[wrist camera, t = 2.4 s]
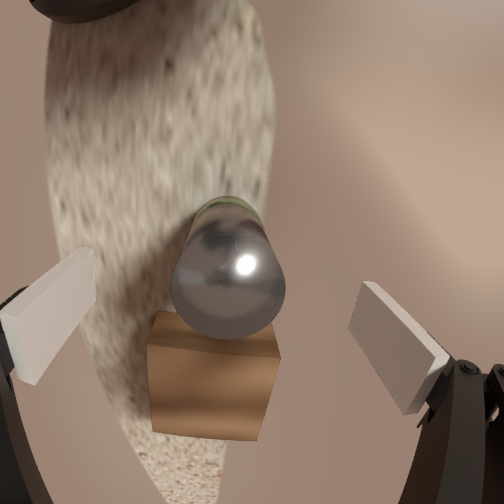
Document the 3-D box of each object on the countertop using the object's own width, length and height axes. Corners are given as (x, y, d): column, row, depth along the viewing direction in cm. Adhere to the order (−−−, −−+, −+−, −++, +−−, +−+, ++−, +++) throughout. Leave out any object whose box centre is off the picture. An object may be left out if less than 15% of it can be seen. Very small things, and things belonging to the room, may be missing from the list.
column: (197, 190, 22) (172, 226, 12) (265, 199, 23) (298, 242, 13) (190, 255, 24) (166, 334, 14) (254, 263, 25) (275, 345, 14)
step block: (158, 310, 25) (146, 344, 21) (271, 323, 27) (280, 358, 22) (160, 411, 29) (154, 445, 25) (248, 419, 31) (252, 453, 26)
